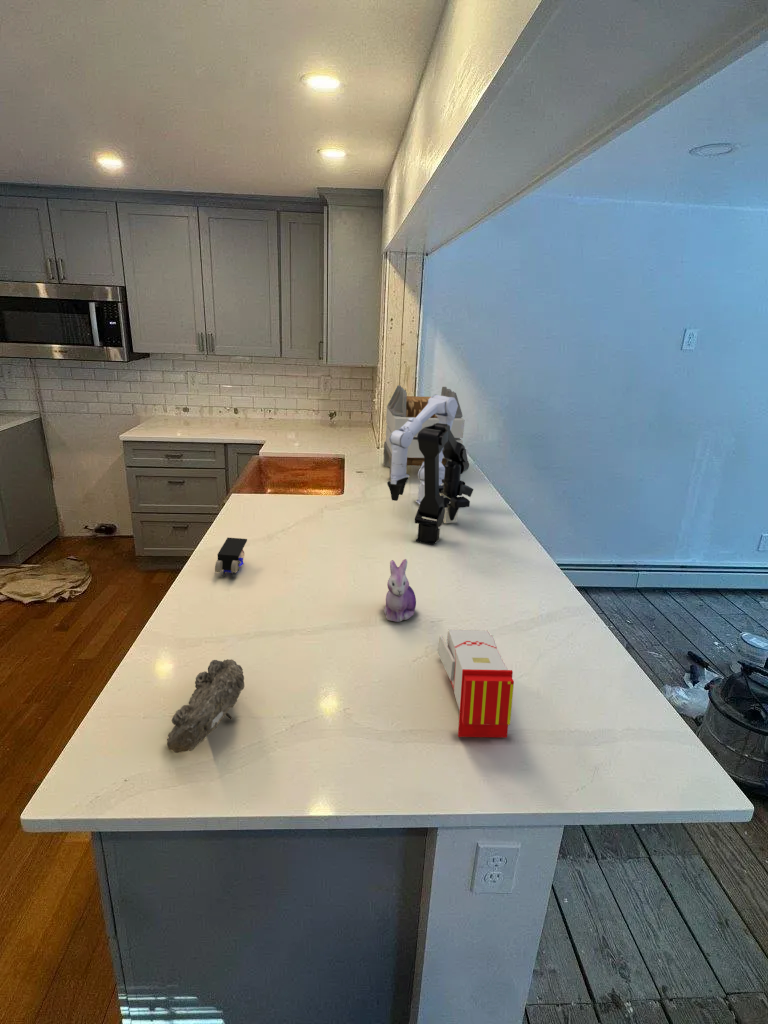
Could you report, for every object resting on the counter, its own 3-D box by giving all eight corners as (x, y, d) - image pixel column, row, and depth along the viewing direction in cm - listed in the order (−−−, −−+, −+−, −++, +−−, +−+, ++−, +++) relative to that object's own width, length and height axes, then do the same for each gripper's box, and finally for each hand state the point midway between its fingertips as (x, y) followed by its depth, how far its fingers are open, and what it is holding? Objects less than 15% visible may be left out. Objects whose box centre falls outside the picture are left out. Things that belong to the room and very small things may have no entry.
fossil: (192, 660, 117) (244, 628, 112) (224, 691, 120) (276, 661, 115) (142, 746, 98) (202, 712, 93) (182, 779, 101) (242, 748, 96)
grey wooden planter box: (382, 463, 289) (386, 382, 275) (445, 464, 293) (451, 384, 279) (390, 482, 257) (394, 392, 243) (460, 483, 261) (468, 394, 247)
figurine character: (238, 584, 162) (249, 557, 175) (236, 562, 158) (247, 536, 172) (215, 584, 161) (227, 556, 175) (212, 561, 158) (225, 535, 171)
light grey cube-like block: (456, 522, 211) (457, 510, 209) (445, 523, 209) (446, 511, 208) (450, 518, 215) (451, 506, 213) (440, 519, 213) (441, 507, 212)
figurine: (392, 627, 141) (395, 572, 136) (374, 608, 149) (376, 556, 144) (425, 619, 145) (429, 566, 140) (405, 601, 154) (408, 550, 149)
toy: (488, 613, 130) (523, 677, 101) (484, 667, 133) (517, 744, 104) (435, 612, 130) (455, 676, 101) (432, 666, 133) (451, 743, 103)
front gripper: (484, 483, 201) (480, 524, 207) (458, 469, 217) (455, 508, 223) (457, 485, 197) (453, 527, 202) (433, 471, 213) (430, 510, 219)
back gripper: (404, 468, 203) (402, 504, 208) (414, 459, 217) (411, 493, 221) (386, 466, 205) (384, 502, 210) (396, 457, 218) (394, 490, 223)
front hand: (448, 518), depth 212 cm, fingers closed on light grey cube-like block, 4 cm apart
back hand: (397, 497), depth 216 cm, fingers open, 7 cm apart
